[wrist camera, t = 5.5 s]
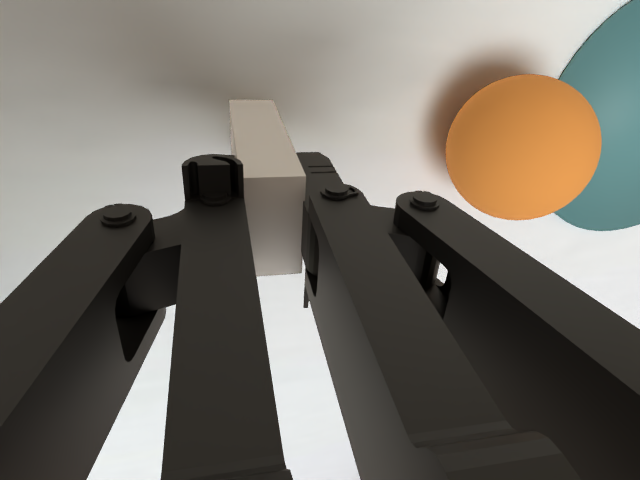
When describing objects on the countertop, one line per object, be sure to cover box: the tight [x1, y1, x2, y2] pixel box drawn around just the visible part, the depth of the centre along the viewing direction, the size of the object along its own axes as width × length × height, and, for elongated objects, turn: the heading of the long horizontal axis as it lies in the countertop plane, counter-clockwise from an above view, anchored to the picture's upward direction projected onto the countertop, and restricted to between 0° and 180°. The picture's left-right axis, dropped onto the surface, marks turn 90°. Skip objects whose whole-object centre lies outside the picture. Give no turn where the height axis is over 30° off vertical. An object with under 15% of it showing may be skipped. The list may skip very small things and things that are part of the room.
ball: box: [446, 74, 602, 220], centre depth 18 cm, size 6×6×6 cm
